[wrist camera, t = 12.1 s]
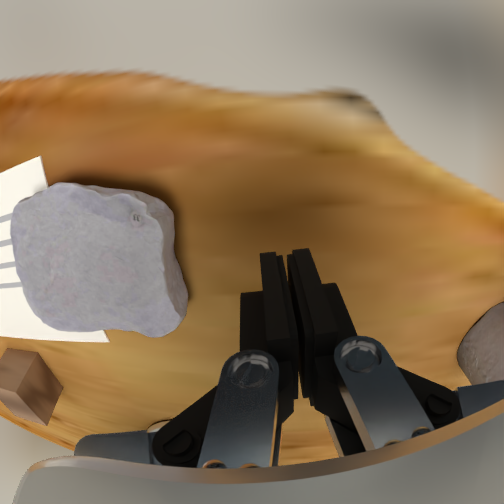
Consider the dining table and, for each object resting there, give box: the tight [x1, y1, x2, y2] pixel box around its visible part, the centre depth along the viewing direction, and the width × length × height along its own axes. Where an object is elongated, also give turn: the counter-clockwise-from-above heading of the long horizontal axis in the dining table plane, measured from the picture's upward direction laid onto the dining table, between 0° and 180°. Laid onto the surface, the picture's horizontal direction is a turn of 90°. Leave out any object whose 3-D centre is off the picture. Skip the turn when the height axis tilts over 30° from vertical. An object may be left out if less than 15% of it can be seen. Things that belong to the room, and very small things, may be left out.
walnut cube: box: [0, 348, 63, 426], centre depth 23 cm, size 6×6×6 cm
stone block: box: [10, 182, 188, 337], centre depth 17 cm, size 12×5×10 cm
